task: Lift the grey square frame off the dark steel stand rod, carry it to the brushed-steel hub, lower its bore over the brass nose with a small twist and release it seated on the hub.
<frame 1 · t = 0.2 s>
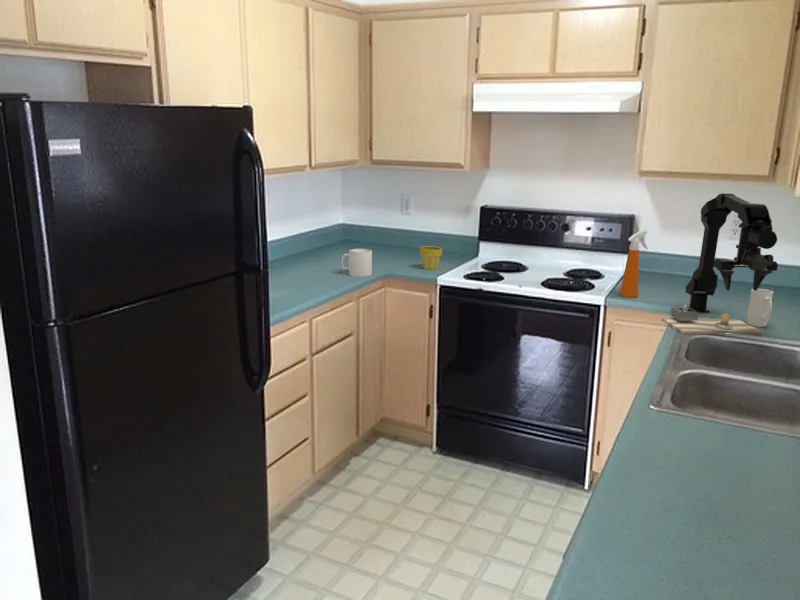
hand: (741, 290, 215), 14 cm above the worktop, fingers open, 9 cm apart
plant pot: (430, 268, 310), on the worktop
board: (710, 327, 223), on the worktop
mug 2: (357, 274, 294), on the worktop
grey square frame: (683, 317, 227), point 2 cm above the worktop, touching stand
hub: (723, 330, 220), resting on board
stand: (683, 323, 227), resting on board
mug: (759, 326, 227), on the worktop
spray bottle: (632, 295, 266), on the worktop
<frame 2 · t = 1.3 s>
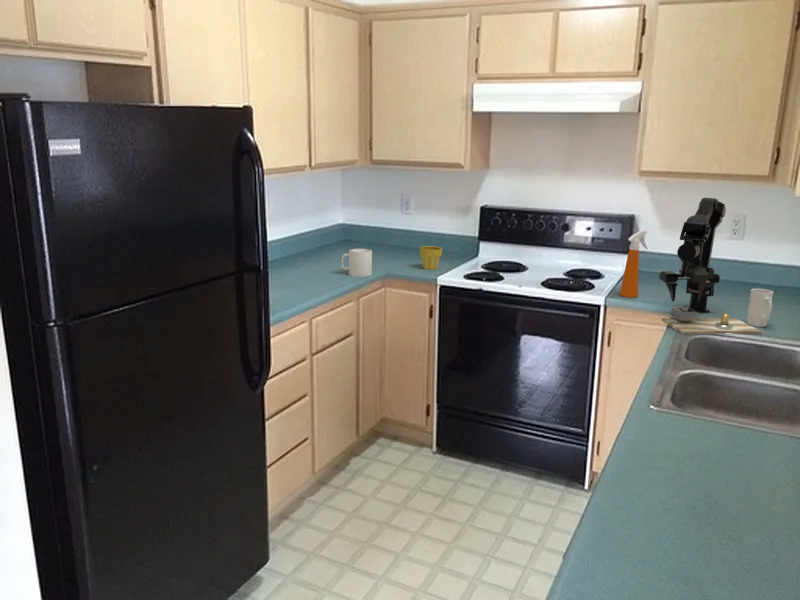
hand: (686, 301, 226), 8 cm above the worktop, fingers open, 9 cm apart
nothing on the worktop moved.
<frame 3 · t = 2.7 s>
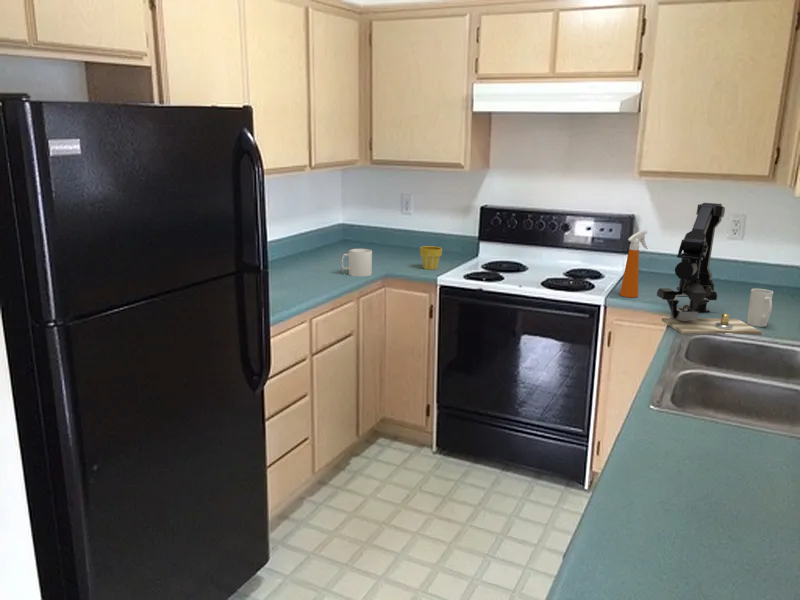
hand: (683, 318, 227), 2 cm above the worktop, fingers closed on grey square frame, 6 cm apart
grey square frame: (683, 317, 227), point 2 cm above the worktop, touching gripper, stand
everything else where it was.
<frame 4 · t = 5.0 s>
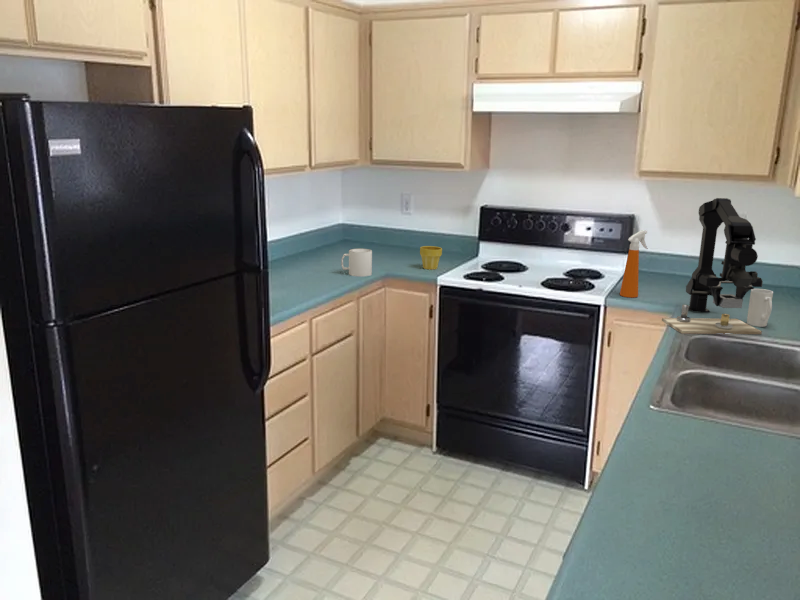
hand: (726, 305, 218), 8 cm above the worktop, fingers closed on grey square frame, 6 cm apart
grey square frame: (727, 305, 218), point 9 cm above the worktop, touching gripper
everything else where it was.
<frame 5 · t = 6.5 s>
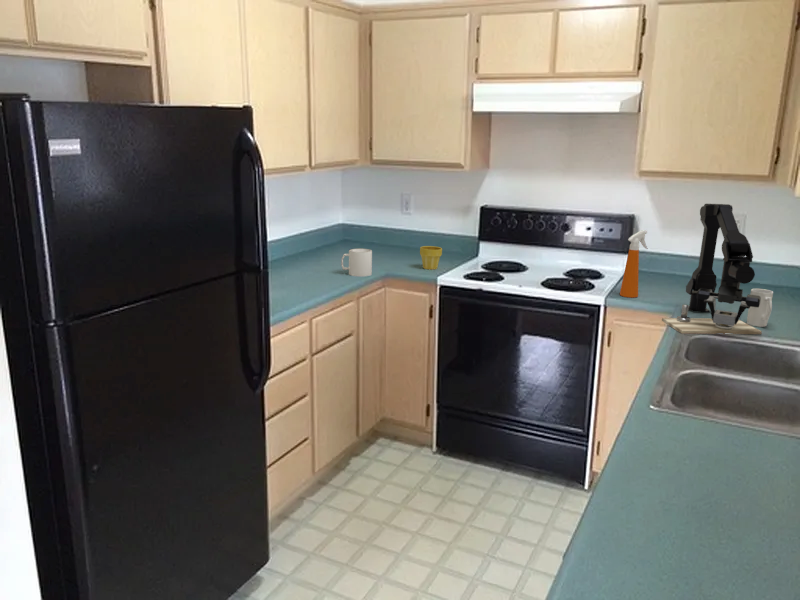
hand: (724, 322, 220), 3 cm above the worktop, fingers closed on grey square frame, 6 cm apart
grey square frame: (724, 321, 220), point 3 cm above the worktop, touching gripper
everything else where it was.
when the fingers open (3 cm above the worktop, at t = 7.4 s): grey square frame stays where it is, resting on hub.
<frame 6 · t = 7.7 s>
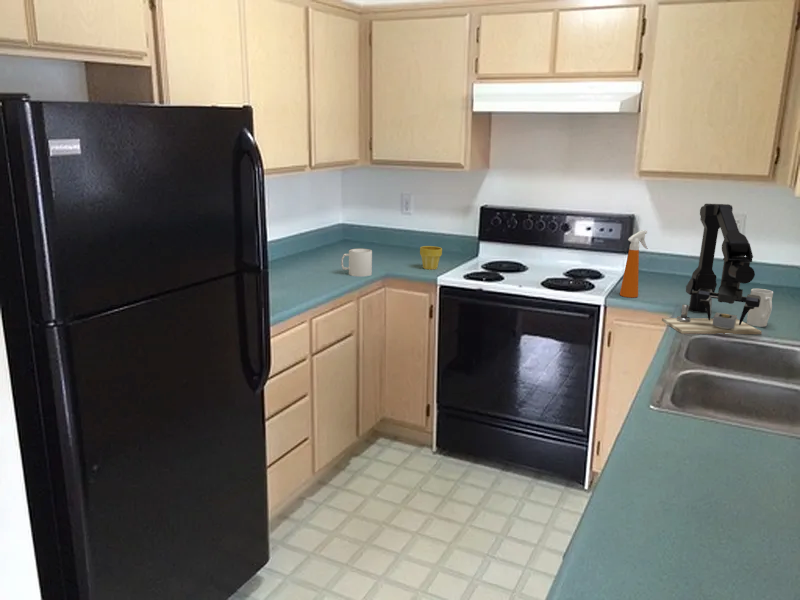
hand: (724, 322, 220), 3 cm above the worktop, fingers open, 9 cm apart
grey square frame: (724, 324, 220), point 2 cm above the worktop, touching hub
everything else where it was.
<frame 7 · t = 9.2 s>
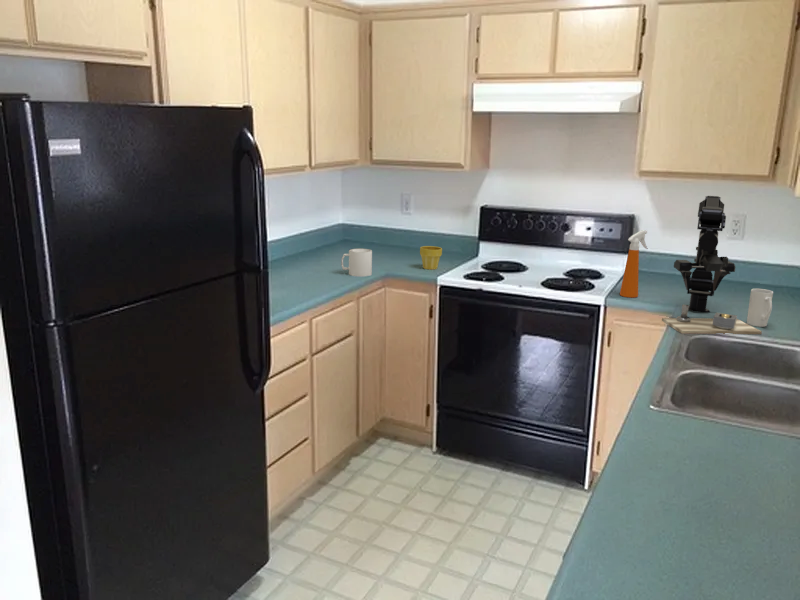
hand: (700, 290, 226), 11 cm above the worktop, fingers open, 9 cm apart
nothing on the worktop moved.
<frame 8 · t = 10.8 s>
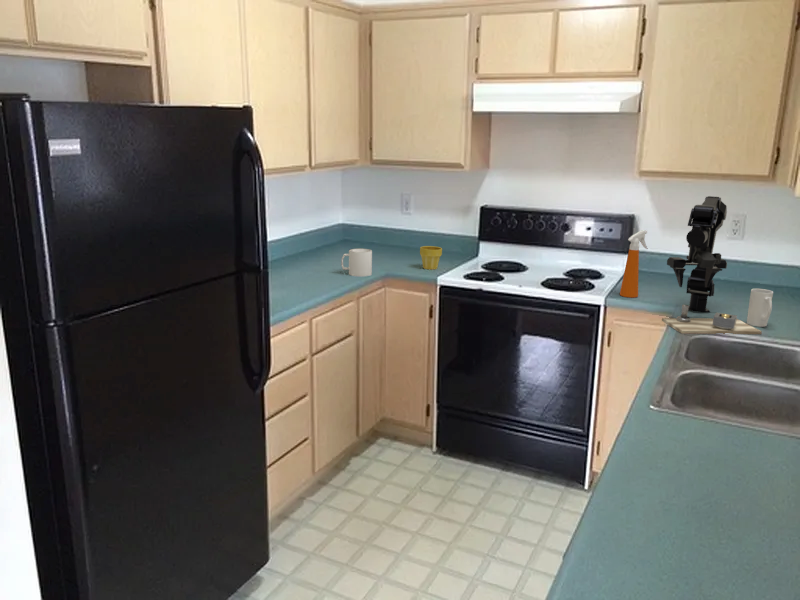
hand: (693, 287, 229), 12 cm above the worktop, fingers open, 9 cm apart
nothing on the worktop moved.
at the end: grey square frame 0.0 cm off-centre on the hub, point 2.0 cm above the hub's base; the gripper is holding nothing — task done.
